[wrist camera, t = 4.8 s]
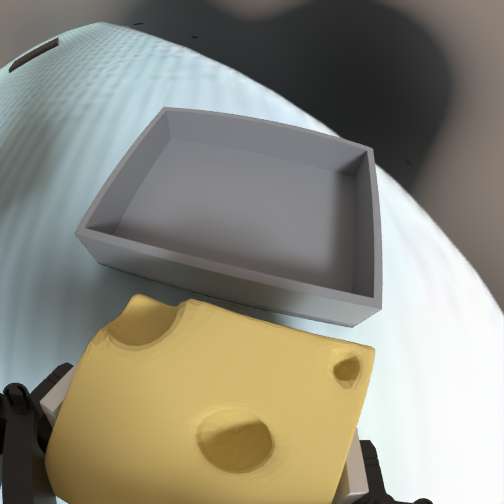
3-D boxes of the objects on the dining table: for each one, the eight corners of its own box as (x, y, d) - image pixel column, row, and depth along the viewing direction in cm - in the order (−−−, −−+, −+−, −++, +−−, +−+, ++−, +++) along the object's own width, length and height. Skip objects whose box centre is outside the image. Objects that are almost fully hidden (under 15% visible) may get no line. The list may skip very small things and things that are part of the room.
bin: (98, 263, 19) (74, 233, 16) (169, 140, 27) (163, 107, 23) (352, 327, 19) (381, 309, 15) (356, 180, 26) (372, 148, 22)
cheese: (166, 322, 18) (111, 253, 9) (316, 368, 17) (396, 340, 8) (120, 451, 13) (33, 485, 4) (273, 501, 12) (312, 580, 3)
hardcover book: (15, 65, 58) (14, 61, 56) (59, 41, 65) (58, 37, 63) (9, 74, 52) (8, 69, 50) (58, 46, 59) (57, 42, 57)
